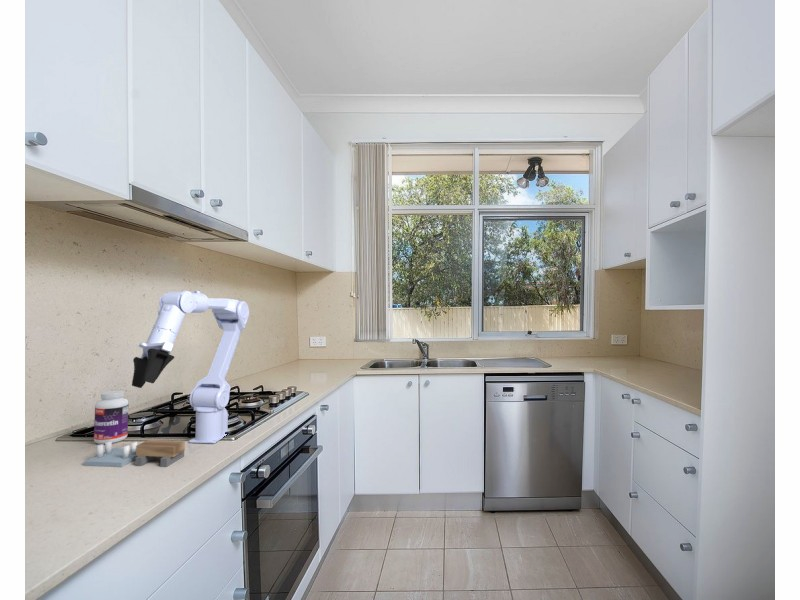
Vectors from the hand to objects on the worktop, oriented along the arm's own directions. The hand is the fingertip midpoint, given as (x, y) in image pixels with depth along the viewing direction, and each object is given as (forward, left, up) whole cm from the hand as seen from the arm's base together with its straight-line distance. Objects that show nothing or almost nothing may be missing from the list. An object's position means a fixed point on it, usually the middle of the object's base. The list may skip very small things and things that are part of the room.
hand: (142, 384), depth 91 cm
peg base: (-9, -13, -22) cm, 27 cm away
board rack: (-9, -1, -21) cm, 23 cm away
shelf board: (-9, -1, -20) cm, 21 cm away
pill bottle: (-22, -26, -22) cm, 40 cm away
